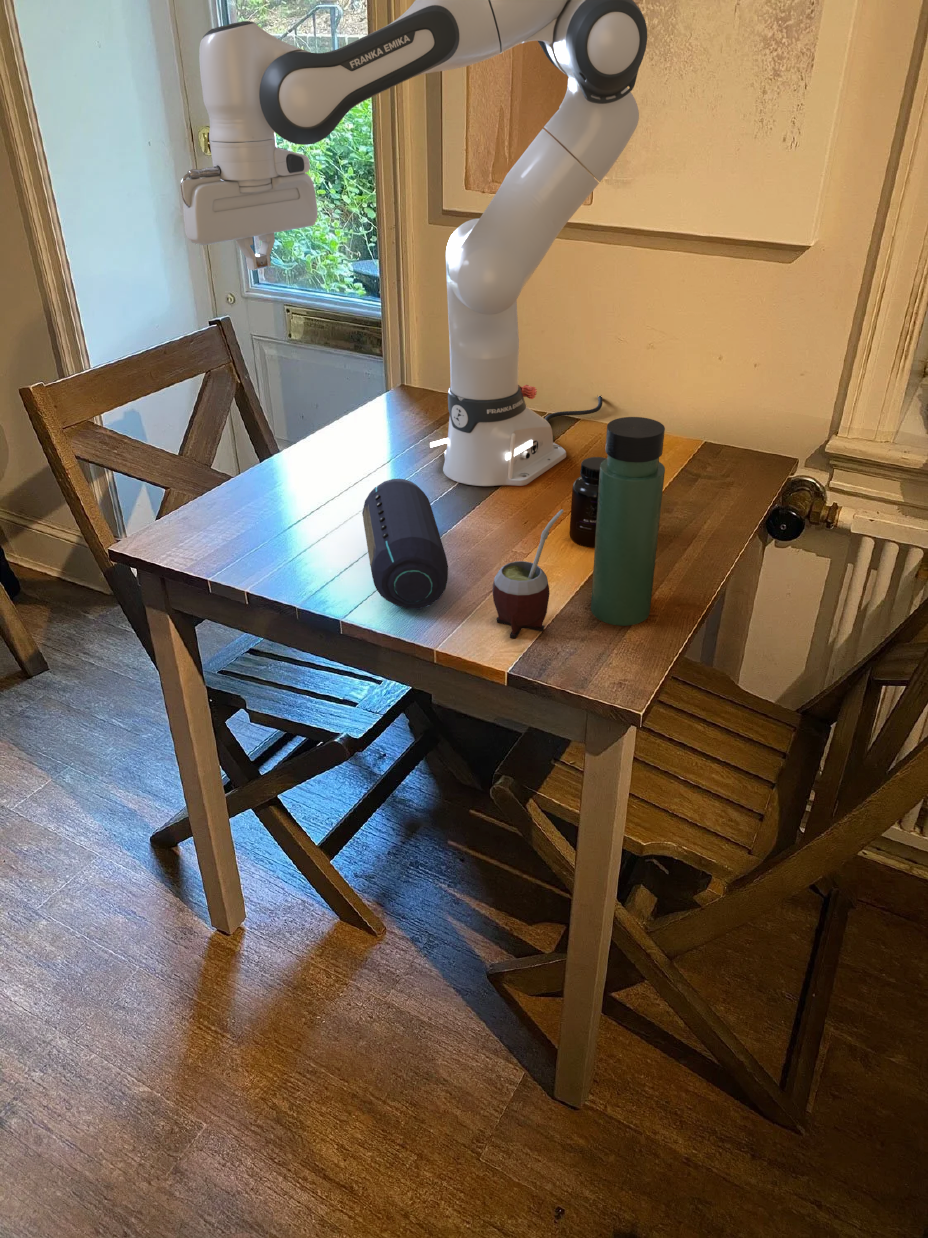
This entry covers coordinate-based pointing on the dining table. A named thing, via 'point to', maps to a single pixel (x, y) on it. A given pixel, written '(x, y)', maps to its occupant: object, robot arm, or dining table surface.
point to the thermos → (628, 521)
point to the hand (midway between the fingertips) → (259, 268)
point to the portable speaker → (404, 545)
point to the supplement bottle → (585, 503)
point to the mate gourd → (523, 591)
